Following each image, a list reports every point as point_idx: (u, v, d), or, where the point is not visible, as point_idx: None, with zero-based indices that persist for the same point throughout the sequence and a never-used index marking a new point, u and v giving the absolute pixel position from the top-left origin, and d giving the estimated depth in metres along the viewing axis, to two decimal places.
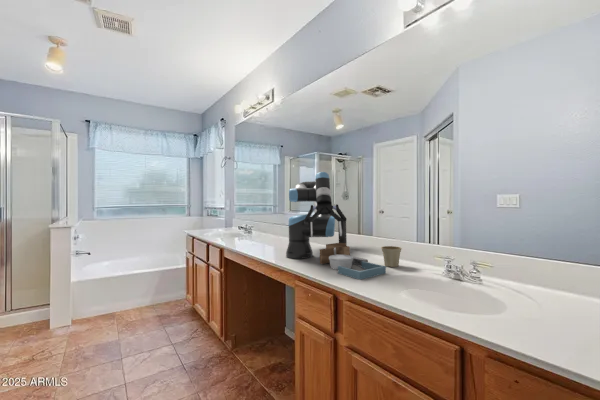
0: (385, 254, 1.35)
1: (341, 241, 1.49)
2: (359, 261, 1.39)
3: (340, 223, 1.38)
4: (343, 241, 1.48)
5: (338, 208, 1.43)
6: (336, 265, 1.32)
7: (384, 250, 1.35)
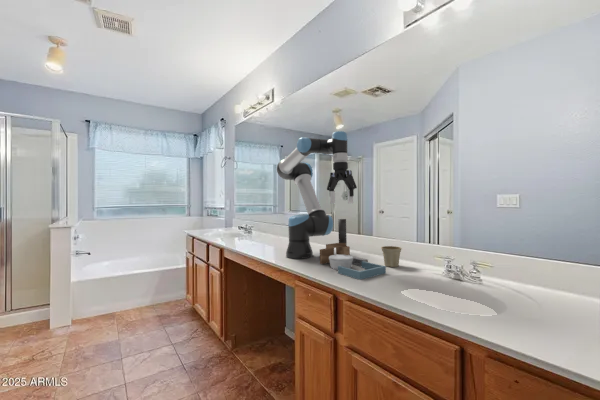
0: (385, 254, 1.35)
1: (341, 241, 1.49)
2: (359, 261, 1.39)
3: (348, 192, 1.44)
4: (343, 241, 1.48)
5: (348, 175, 1.44)
6: (336, 265, 1.32)
7: (384, 250, 1.35)
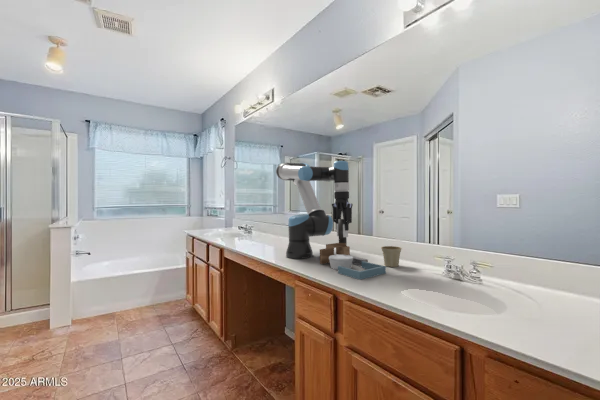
0: (385, 254, 1.35)
1: (341, 241, 1.49)
2: (359, 261, 1.39)
3: (343, 226, 1.47)
4: (343, 241, 1.48)
5: (347, 208, 1.45)
6: (336, 265, 1.32)
7: (384, 250, 1.35)
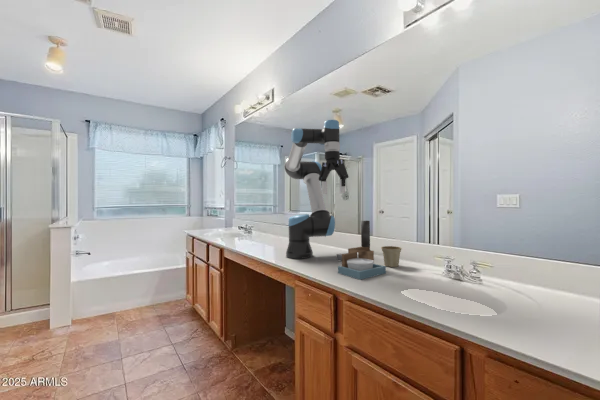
0: (385, 254, 1.35)
1: (364, 245, 1.35)
2: None
3: (340, 182, 1.40)
4: (367, 245, 1.35)
5: (339, 164, 1.40)
6: (357, 270, 1.22)
7: (384, 250, 1.35)
